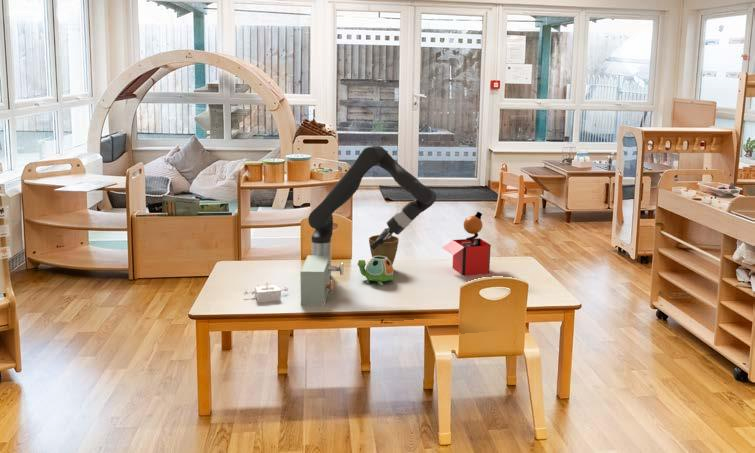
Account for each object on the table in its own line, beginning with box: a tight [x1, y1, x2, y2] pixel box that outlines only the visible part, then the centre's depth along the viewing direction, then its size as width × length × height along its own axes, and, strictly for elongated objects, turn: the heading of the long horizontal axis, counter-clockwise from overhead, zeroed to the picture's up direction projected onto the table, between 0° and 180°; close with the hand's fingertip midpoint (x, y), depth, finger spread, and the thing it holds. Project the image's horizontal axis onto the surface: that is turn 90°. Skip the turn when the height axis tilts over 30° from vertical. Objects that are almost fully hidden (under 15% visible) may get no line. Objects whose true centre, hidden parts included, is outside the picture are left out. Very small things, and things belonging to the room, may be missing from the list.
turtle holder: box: [356, 256, 394, 286], centre depth 363 cm, size 12×18×12 cm
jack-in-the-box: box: [442, 211, 493, 277], centre depth 379 cm, size 26×16×30 cm, turn 106°
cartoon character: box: [243, 282, 289, 303], centre depth 340 cm, size 8×20×16 cm
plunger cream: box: [328, 261, 345, 276], centre depth 345 cm, size 13×6×6 cm, turn 88°
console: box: [300, 254, 331, 306], centre depth 340 cm, size 10×26×15 cm, turn 178°
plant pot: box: [368, 234, 400, 266], centre depth 381 cm, size 15×15×16 cm
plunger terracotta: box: [325, 279, 335, 294], centre depth 334 cm, size 13×6×6 cm, turn 88°
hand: (371, 247), depth 342 cm, fingers closed
